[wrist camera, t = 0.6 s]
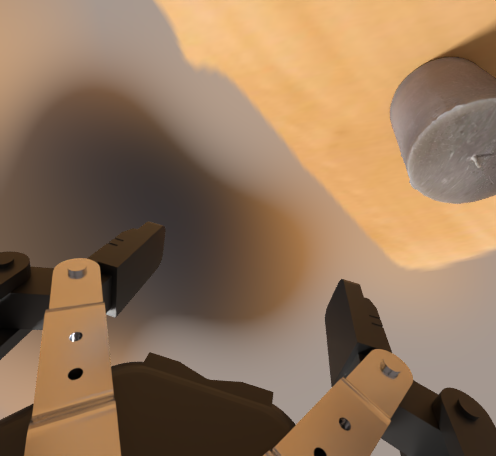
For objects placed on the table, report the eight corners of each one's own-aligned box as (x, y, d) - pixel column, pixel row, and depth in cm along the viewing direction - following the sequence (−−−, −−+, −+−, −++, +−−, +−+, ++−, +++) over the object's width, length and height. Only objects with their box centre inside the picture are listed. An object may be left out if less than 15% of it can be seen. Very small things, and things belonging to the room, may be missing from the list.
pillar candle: (502, 100, 32) (586, 166, 21) (417, 156, 38) (448, 229, 27) (453, 33, 29) (521, 69, 18) (370, 105, 35) (384, 164, 25)
